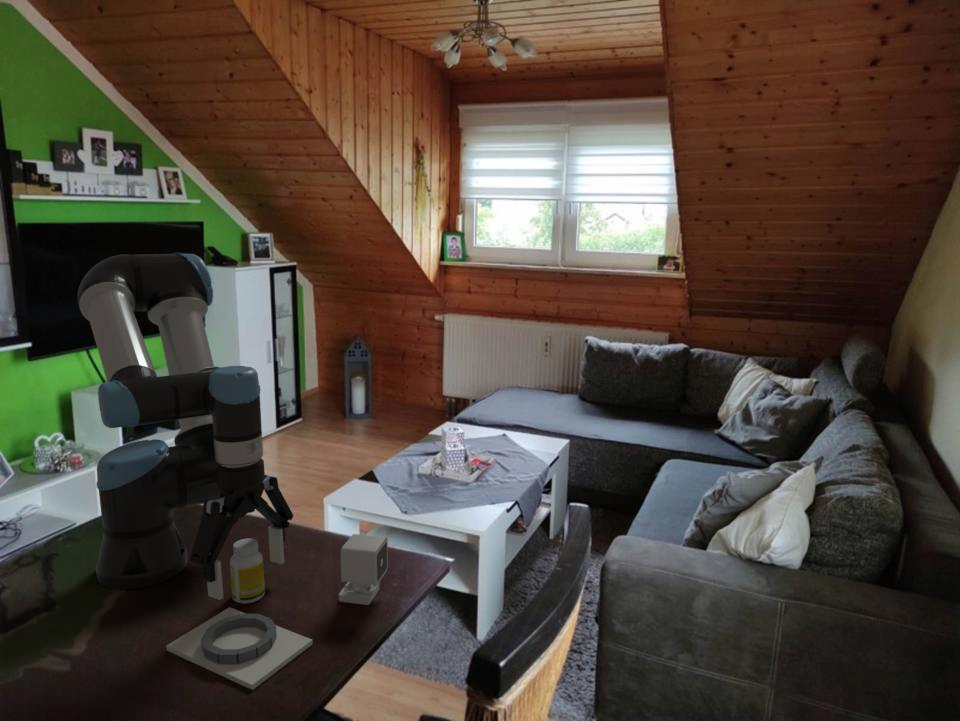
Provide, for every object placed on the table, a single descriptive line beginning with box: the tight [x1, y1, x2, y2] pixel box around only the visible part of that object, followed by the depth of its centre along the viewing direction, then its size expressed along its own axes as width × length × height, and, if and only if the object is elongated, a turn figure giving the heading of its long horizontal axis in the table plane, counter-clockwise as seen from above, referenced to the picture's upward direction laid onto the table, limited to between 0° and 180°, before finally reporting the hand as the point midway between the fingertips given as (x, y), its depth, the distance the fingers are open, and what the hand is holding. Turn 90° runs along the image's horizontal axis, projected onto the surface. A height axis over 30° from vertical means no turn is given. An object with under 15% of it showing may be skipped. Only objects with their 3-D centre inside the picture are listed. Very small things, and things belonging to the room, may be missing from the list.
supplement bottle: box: [229, 537, 266, 604], centre depth 118 cm, size 5×5×10 cm
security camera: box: [338, 533, 389, 606], centre depth 119 cm, size 6×7×10 cm
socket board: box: [165, 606, 314, 691], centre depth 105 cm, size 18×12×2 cm, turn 61°
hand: (248, 578), depth 118 cm, fingers open, 13 cm apart
